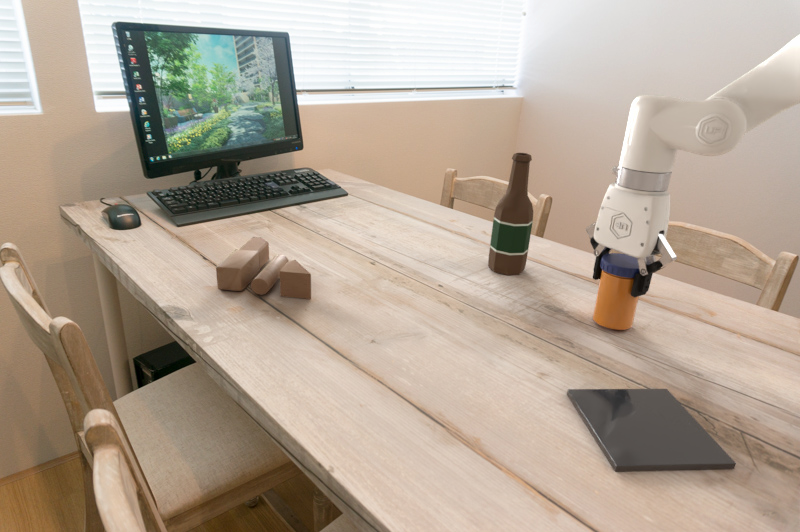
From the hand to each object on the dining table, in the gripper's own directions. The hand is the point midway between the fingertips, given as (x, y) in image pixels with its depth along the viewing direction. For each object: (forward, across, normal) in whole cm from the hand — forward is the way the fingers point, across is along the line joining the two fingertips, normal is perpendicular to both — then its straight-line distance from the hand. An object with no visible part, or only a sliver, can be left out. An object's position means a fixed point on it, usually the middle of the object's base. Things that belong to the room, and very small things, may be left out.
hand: (618, 285), depth 87 cm
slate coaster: (+7, +20, -19) cm, 29 cm away
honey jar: (+7, 0, 0) cm, 7 cm away
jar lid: (-4, 0, 0) cm, 4 cm away
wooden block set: (+7, -41, -44) cm, 61 cm away
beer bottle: (+7, -26, 0) cm, 27 cm away
